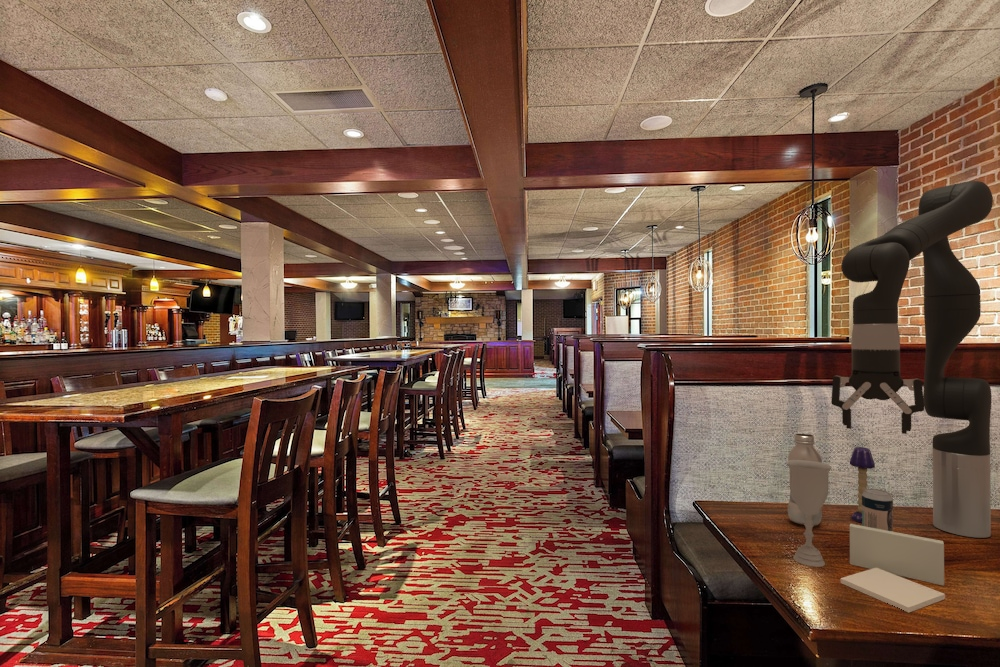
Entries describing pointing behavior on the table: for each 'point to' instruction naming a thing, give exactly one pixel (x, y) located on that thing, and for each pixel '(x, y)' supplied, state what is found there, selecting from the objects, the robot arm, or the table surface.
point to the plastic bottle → (808, 453)
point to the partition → (897, 553)
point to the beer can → (877, 509)
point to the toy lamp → (861, 474)
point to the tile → (893, 589)
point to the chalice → (809, 502)
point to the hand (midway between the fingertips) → (875, 430)
